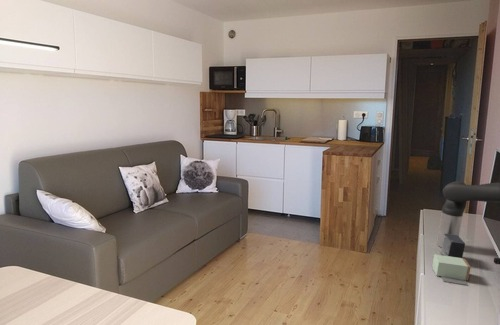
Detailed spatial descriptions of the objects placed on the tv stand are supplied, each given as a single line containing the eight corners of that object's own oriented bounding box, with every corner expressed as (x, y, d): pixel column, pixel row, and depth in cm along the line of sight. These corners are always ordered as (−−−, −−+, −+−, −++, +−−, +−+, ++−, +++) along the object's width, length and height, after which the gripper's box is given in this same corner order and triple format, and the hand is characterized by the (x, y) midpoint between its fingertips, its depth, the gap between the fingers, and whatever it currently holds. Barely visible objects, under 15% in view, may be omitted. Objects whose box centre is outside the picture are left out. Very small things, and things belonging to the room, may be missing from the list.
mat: (435, 266, 168) (435, 265, 168) (457, 269, 167) (457, 269, 166) (443, 281, 155) (443, 280, 155) (467, 285, 153) (468, 284, 153)
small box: (462, 265, 171) (466, 243, 169) (446, 263, 173) (450, 241, 170) (454, 255, 182) (458, 234, 179) (440, 253, 183) (443, 232, 181)
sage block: (462, 271, 164) (432, 267, 167) (464, 258, 163) (434, 254, 166) (468, 280, 157) (436, 275, 159) (470, 266, 155) (438, 262, 158)
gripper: (536, 251, 158) (490, 245, 162) (553, 265, 146) (502, 258, 149) (532, 268, 160) (487, 262, 164) (549, 283, 147) (499, 276, 151)
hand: (494, 260), depth 157 cm, fingers closed
